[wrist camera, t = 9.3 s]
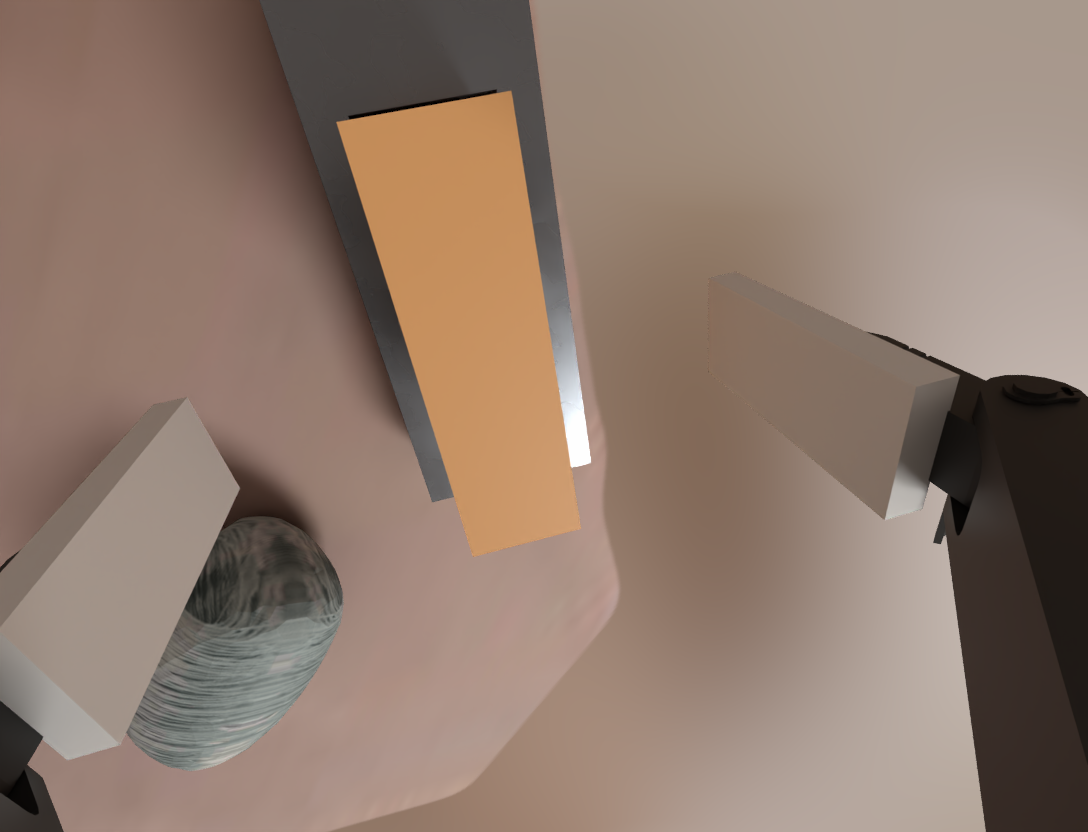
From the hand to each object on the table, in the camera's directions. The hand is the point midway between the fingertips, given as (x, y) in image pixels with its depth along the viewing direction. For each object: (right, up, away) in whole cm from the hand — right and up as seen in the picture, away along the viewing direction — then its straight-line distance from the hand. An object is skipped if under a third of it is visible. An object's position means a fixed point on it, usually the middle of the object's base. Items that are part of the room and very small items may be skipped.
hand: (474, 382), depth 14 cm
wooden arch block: (-2, +6, +10) cm, 12 cm away
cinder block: (-2, +6, +11) cm, 13 cm away
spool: (-15, -11, +18) cm, 26 cm away
